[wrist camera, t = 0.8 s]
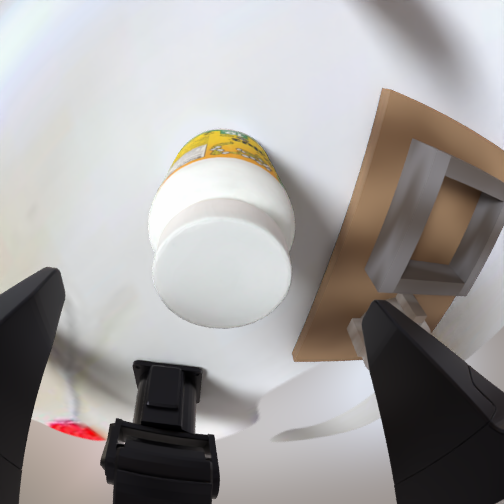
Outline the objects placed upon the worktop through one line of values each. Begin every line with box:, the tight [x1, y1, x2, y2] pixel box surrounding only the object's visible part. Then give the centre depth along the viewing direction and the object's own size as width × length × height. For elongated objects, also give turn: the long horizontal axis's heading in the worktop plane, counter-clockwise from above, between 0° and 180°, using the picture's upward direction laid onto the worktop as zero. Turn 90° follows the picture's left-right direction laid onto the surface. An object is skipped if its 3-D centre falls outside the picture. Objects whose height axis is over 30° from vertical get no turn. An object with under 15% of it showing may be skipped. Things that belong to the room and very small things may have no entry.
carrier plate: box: [292, 88, 504, 370], centre depth 19 cm, size 22×14×4 cm, turn 170°
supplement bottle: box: [148, 128, 295, 329], centre depth 12 cm, size 5×5×10 cm
